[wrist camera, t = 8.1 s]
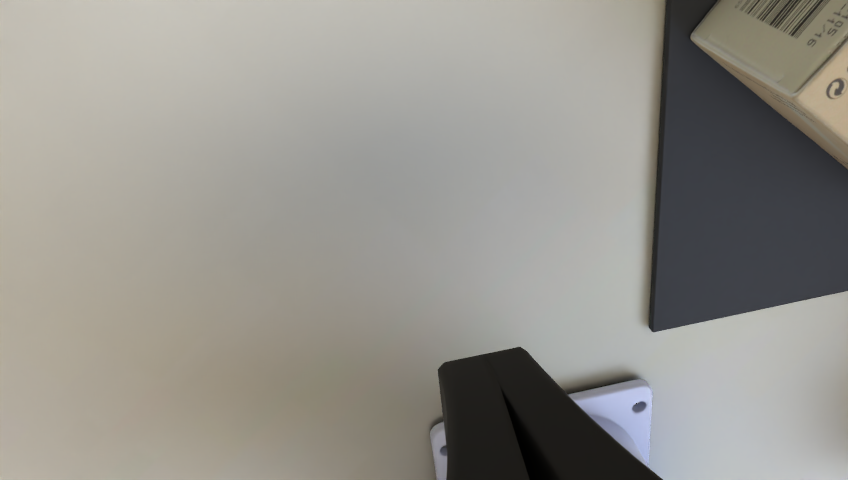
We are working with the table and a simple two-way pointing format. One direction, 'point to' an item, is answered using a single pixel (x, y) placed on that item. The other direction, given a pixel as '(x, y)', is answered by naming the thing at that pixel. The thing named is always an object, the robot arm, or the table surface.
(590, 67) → the table surface
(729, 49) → the box
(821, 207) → the mat
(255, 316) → the table surface
